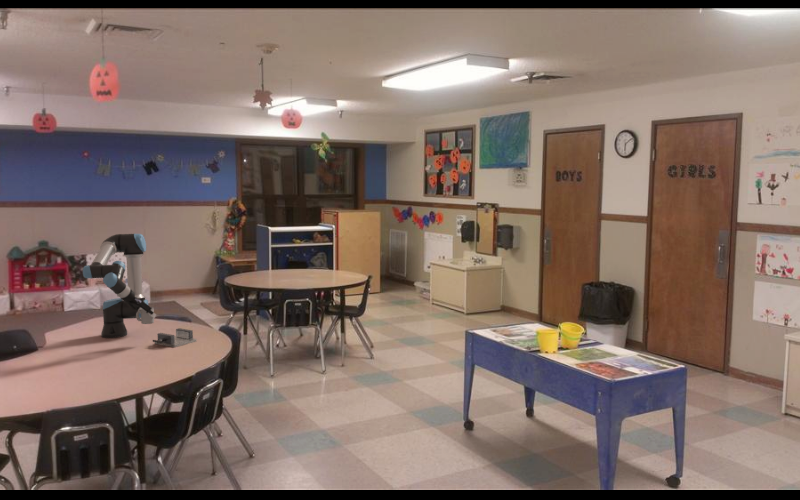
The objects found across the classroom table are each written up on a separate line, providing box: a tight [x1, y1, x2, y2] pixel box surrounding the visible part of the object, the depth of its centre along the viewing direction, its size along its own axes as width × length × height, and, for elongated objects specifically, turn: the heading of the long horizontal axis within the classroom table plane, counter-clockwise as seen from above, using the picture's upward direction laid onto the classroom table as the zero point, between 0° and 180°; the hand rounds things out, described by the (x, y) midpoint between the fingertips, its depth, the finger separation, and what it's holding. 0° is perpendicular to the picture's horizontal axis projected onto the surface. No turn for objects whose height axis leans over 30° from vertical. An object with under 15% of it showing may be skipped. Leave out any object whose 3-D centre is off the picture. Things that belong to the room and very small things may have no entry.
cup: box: [135, 306, 155, 325], centre depth 381 cm, size 7×10×9 cm
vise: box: [152, 328, 198, 348], centre depth 383 cm, size 18×22×6 cm
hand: (150, 315), depth 384 cm, fingers closed on cup, 8 cm apart
